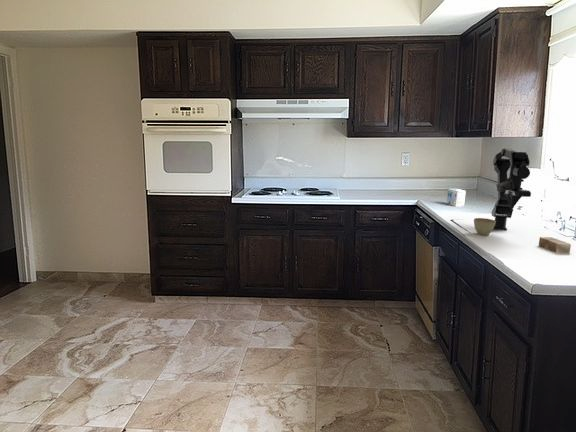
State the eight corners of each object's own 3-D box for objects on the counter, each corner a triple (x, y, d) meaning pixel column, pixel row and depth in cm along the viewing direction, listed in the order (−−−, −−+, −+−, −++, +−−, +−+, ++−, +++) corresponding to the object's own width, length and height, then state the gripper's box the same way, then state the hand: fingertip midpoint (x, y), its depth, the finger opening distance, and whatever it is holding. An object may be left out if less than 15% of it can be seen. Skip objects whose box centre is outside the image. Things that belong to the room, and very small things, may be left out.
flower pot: (467, 232, 236) (469, 218, 234) (483, 231, 239) (485, 217, 238) (482, 237, 226) (484, 222, 225) (498, 236, 230) (500, 221, 229)
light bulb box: (446, 203, 324) (447, 188, 322) (454, 203, 326) (456, 188, 324) (455, 206, 314) (457, 190, 312) (464, 206, 316) (466, 190, 314)
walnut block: (539, 237, 214) (558, 243, 202) (551, 237, 215) (571, 244, 203) (538, 245, 214) (556, 253, 203) (550, 245, 215) (569, 253, 204)
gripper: (489, 174, 238) (485, 204, 241) (512, 178, 219) (507, 211, 222) (509, 174, 239) (505, 205, 242) (533, 179, 221) (529, 212, 224)
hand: (511, 208), depth 233 cm, fingers closed
